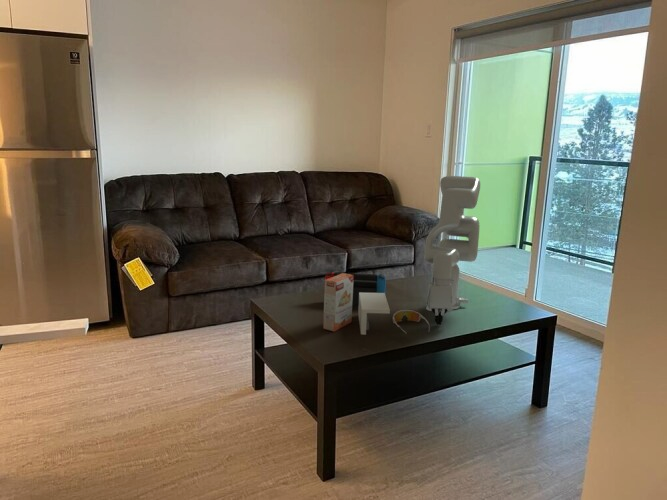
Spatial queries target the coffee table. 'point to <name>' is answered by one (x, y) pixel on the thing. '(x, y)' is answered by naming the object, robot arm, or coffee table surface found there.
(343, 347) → the coffee table surface
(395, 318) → the sunglasses
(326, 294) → the cracker box
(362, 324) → the overhang dock
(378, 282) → the game console
